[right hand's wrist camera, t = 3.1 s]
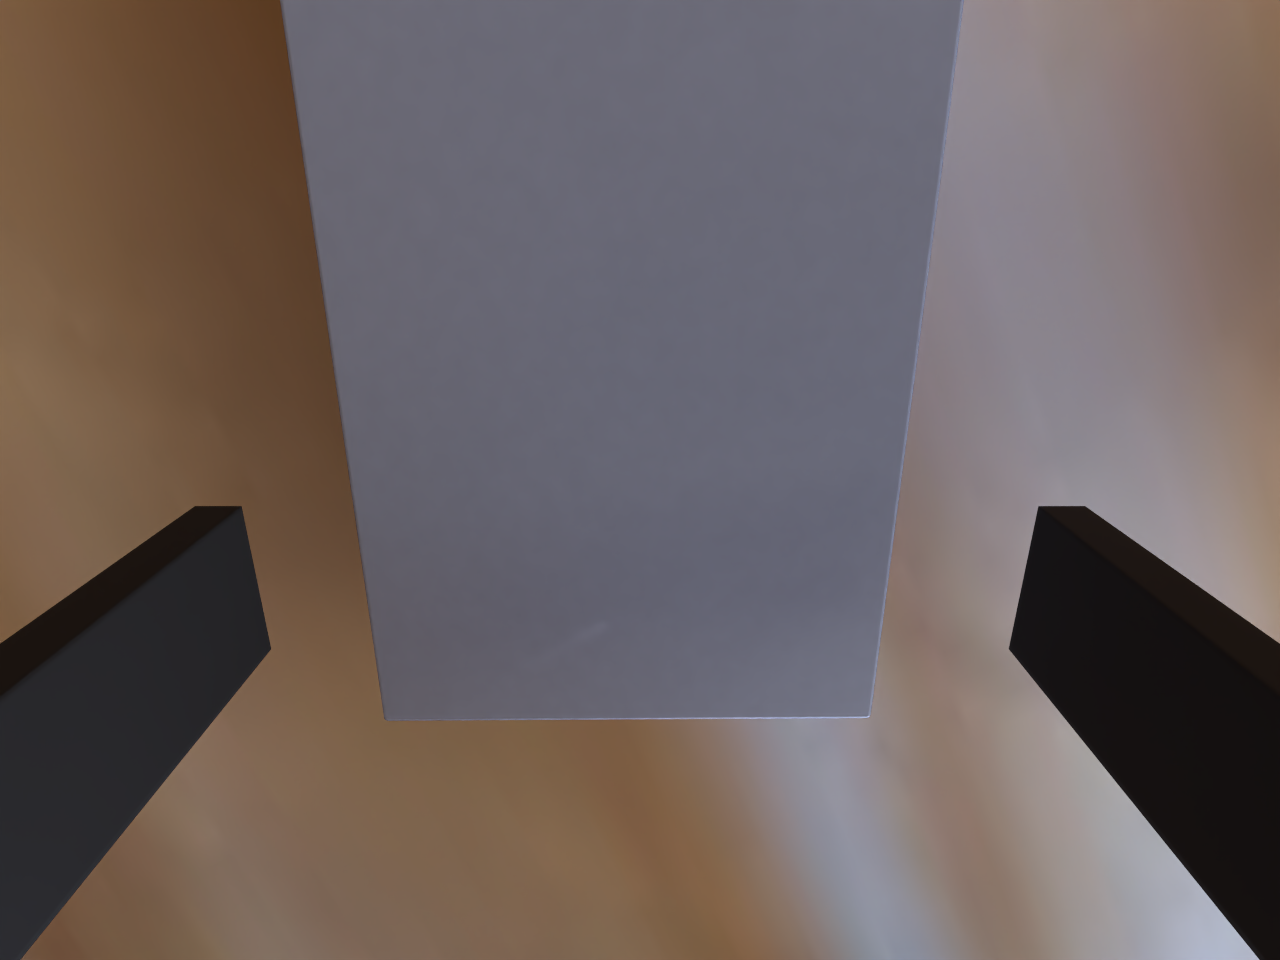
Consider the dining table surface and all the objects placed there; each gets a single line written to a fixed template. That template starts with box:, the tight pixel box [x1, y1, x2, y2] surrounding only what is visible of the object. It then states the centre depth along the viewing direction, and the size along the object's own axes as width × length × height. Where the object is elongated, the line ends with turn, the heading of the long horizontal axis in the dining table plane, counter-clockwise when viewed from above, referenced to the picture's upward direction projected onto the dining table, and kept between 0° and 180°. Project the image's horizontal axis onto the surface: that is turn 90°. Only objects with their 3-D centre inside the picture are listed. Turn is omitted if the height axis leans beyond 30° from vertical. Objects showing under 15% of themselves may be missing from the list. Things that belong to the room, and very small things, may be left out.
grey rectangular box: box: [280, 0, 964, 721], centre depth 17 cm, size 20×11×10 cm, turn 0°
